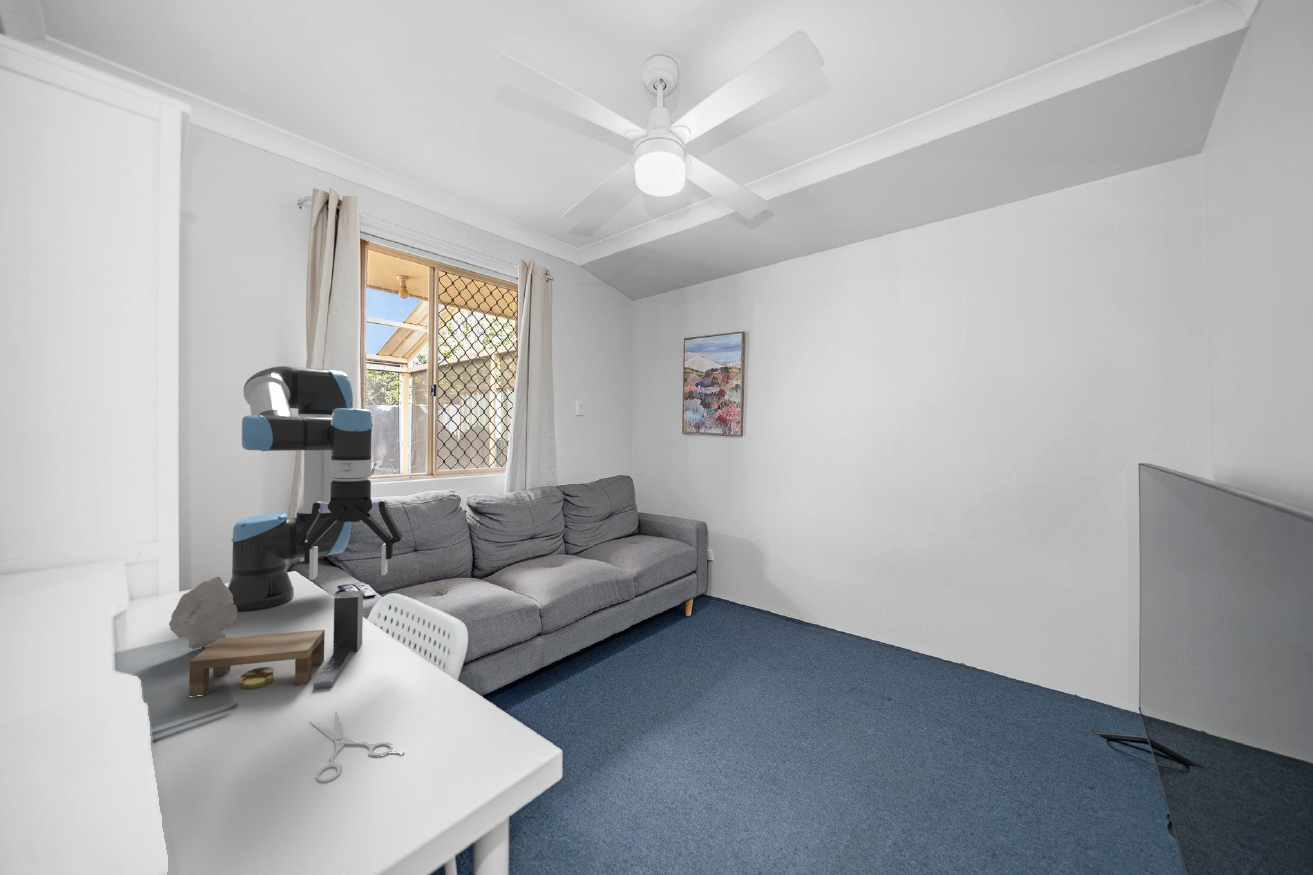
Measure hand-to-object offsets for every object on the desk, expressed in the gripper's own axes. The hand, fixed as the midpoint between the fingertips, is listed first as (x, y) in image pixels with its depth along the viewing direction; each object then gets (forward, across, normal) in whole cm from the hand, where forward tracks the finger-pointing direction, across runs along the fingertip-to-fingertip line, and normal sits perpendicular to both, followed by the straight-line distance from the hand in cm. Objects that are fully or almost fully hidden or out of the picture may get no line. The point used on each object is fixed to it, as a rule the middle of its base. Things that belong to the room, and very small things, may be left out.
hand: (349, 576), depth 109 cm
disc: (+16, -12, -12) cm, 24 cm away
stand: (+16, -12, -10) cm, 22 cm away
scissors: (+17, +8, -36) cm, 40 cm away
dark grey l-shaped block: (+16, 0, -7) cm, 18 cm away
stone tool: (+16, -29, +8) cm, 34 cm away
